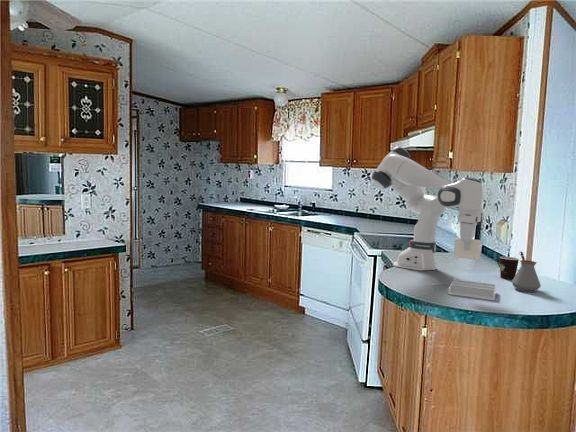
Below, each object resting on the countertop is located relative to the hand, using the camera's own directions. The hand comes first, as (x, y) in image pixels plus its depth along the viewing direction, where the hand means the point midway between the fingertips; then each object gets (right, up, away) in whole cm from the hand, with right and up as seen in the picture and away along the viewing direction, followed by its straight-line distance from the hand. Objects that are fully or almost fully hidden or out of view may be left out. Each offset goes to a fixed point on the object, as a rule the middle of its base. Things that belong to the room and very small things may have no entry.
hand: (467, 249), depth 197 cm
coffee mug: (+34, -17, +37) cm, 53 cm away
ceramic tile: (0, -4, 0) cm, 4 cm away
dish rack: (+4, -19, +4) cm, 20 cm away
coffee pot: (+33, -19, +18) cm, 42 cm away
